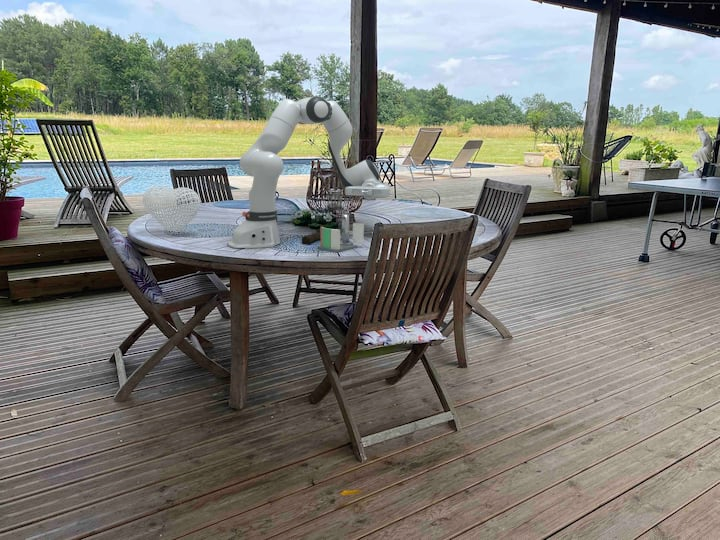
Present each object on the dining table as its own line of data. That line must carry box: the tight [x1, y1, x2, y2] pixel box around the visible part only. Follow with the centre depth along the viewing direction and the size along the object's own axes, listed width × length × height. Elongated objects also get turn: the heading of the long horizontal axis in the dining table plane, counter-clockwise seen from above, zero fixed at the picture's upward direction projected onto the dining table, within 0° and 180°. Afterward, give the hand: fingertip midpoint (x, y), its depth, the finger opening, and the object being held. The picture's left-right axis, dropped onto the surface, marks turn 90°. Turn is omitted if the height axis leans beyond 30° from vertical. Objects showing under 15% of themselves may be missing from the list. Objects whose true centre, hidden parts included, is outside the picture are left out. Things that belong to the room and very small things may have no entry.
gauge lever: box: [336, 213, 365, 244], centre depth 208 cm, size 15×9×12 cm, turn 169°
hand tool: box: [301, 228, 321, 245], centre depth 226 cm, size 19×4×5 cm, turn 156°
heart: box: [142, 185, 201, 233], centre depth 233 cm, size 28×16×22 cm, turn 65°
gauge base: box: [316, 226, 358, 254], centre depth 212 cm, size 15×11×9 cm
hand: (364, 193), depth 222 cm, fingers closed
